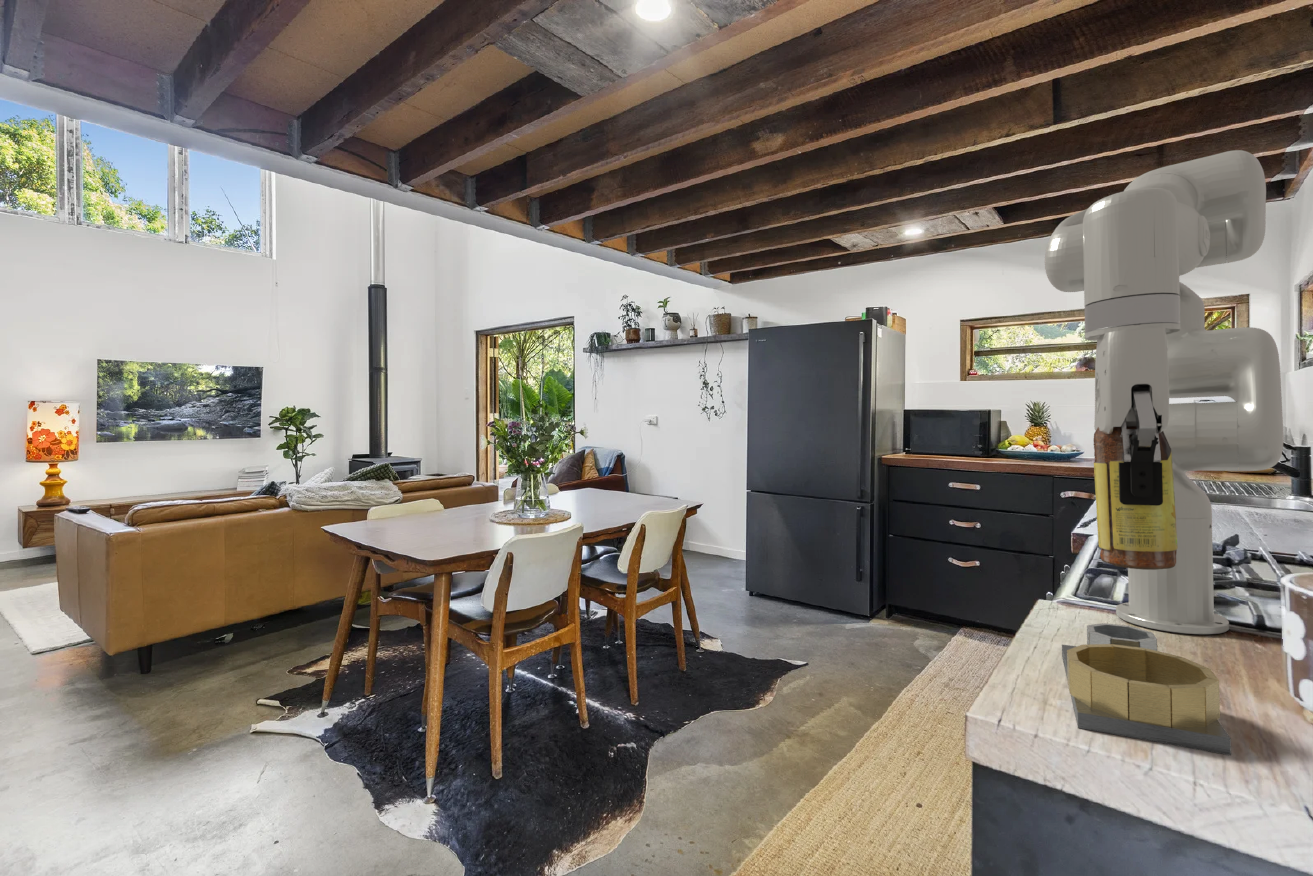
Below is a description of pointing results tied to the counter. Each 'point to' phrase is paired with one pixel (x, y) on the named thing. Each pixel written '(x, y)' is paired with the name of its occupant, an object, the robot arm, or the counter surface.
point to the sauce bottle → (1133, 511)
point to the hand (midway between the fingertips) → (1134, 499)
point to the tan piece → (1143, 690)
